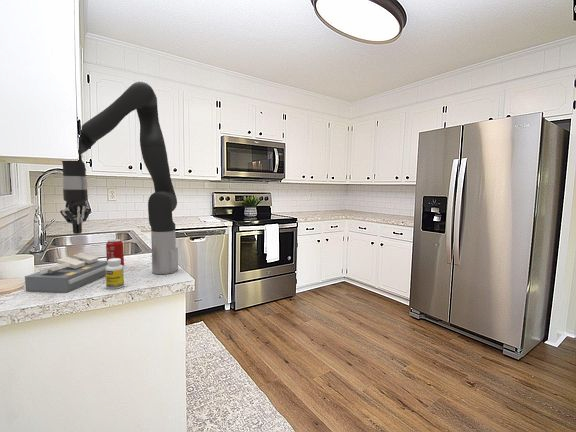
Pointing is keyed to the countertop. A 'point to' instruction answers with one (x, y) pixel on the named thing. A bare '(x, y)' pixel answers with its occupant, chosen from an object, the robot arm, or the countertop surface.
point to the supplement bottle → (114, 274)
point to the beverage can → (115, 250)
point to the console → (66, 278)
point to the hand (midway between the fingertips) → (77, 233)
